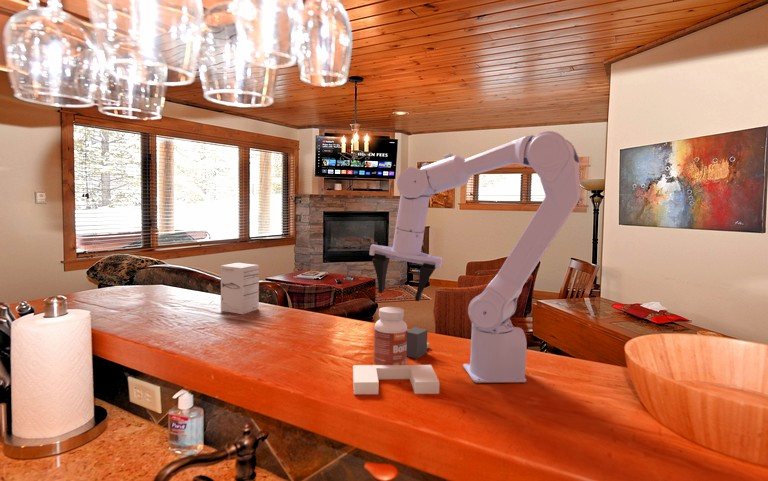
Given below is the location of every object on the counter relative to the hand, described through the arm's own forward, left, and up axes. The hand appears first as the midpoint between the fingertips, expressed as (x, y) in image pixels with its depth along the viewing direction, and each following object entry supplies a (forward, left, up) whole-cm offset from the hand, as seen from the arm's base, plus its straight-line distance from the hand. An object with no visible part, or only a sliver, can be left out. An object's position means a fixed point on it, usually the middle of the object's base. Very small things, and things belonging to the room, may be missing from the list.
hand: (399, 295), depth 91 cm
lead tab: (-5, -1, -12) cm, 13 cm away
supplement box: (+39, -35, -12) cm, 54 cm away
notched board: (+2, +15, -12) cm, 19 cm away
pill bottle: (+2, +7, -12) cm, 14 cm away
